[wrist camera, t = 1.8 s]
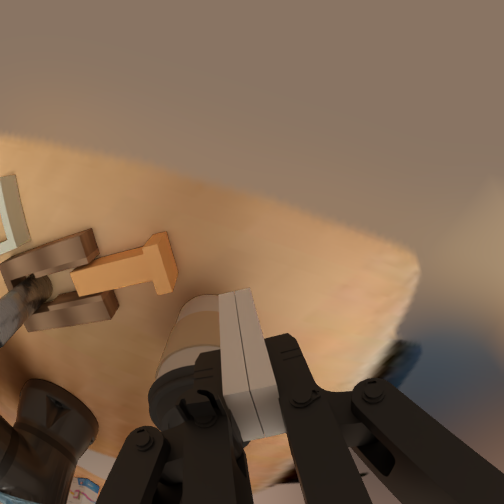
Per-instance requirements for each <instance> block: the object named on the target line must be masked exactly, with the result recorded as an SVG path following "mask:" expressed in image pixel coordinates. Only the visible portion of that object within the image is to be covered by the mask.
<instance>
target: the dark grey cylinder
mask: <svg viewBox="0 0 504 504" xmlns="http://www.w3.org/2000/svg"><path fill="white" fill-rule="evenodd" d="M52 290H53V289H52V284H51V281H50V279H49V278H48V276H47V275H45V276H42V277H38V278H35V275H34V273H32V274H31V275H30V276H28V277H27V278H26V279H24V280H23V281H22V282H21V283H19V284H18V285H17V286H15V287H14V288H13V289H12V290H10V291H9V292H8V293H7V294H5V295H4V296H3V297H2V298H1V299H0V348H1V347H3V345H4V344H5V343H6V342H7V341H8V340H9V339H10V338H11V336H12V335H13V334H14V333H15V332H16V331H17V330H18V329H19V328H20V327H21V326H22V324H23V323H24V322H25V321H26V320H27V319H28V318H29V317H30V316H31V315H32V314H33V313H34V312H35V311H36V310H37V309H38V308H39V307H40V306H41V305H42V304H43V303H44V302H45V301H46V300H47V299H48V298H49V297H50V296H51V294H52Z"/></svg>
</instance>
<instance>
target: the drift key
mask: <svg viewBox="0 0 504 504" xmlns="http://www.w3.org/2000/svg"><path fill="white" fill-rule="evenodd" d="M70 275H71V278H72V280H73V283H74V285H75V288H76V290H77V293H78V295H79V297H80V296H85V295H89V294H94V293H99V292H103V291H108V290H112V289H117V288H122V287H126V286H131V285H135V284H140V283H144V282H149V281H153V284H154V286H155V289H156V292H157V295H161V294H166V293H170V292H173V289H174V285H175V282H176V279H177V276H178V270H177V267H176V263H175V260H174V257H173V253H172V250H171V246H170V243H169V239H168V236H167V232H162V233H158V234H154V235H152V237H151V238H150V239H149V240H148V241H147V243H146V244H145V245H144V246H143V247H140V248H136V249H132V250H128V251H124V252H120V253H116V254H113V255H109V256H105V257H101V258H98V259H94V260H92V261H91V262H90V263H88V264H85V265H81V266H78V267H76V268H75V269H74V270H73V271H72V272H71V273H70Z"/></svg>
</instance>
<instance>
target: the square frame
mask: <svg viewBox="0 0 504 504" xmlns="http://www.w3.org/2000/svg"><path fill="white" fill-rule="evenodd" d="M0 214H1V218H2V222H3V226H4V229H5V233H6V236H7V240H5V241H3V242H1V243H0V255H1V254H3V253H6V252H8V251H10V250H13V249H15V248H17V247H19V246H21V245H23V244H25V243H27V242H29V241H30V240H31V238H30V235H29V232H28V228H27V225H26V221H25V217H24V213H23V209H22V205H21V201H20V196H19V192H18V187H17V182H16V176H15V175H10V176H4V177H0Z"/></svg>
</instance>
